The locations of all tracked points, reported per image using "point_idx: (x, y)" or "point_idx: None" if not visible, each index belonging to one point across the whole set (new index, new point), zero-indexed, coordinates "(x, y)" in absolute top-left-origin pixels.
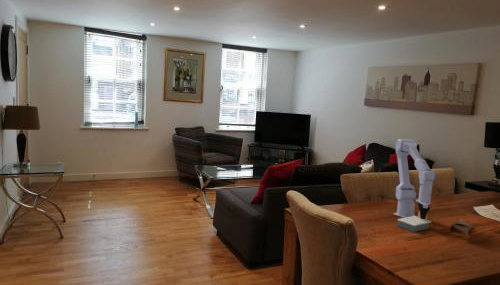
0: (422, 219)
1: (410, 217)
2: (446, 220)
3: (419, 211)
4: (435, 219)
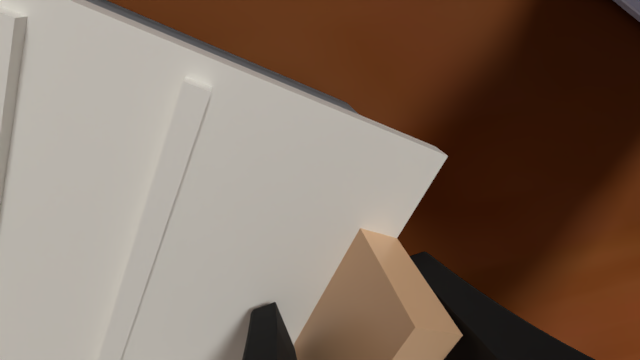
0: (289, 311)
1: (167, 138)
2: (632, 316)
3: (450, 335)
4: (634, 255)
